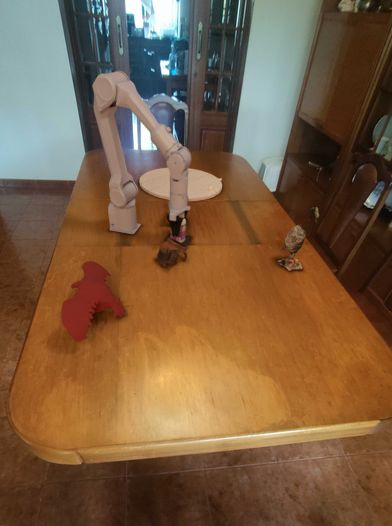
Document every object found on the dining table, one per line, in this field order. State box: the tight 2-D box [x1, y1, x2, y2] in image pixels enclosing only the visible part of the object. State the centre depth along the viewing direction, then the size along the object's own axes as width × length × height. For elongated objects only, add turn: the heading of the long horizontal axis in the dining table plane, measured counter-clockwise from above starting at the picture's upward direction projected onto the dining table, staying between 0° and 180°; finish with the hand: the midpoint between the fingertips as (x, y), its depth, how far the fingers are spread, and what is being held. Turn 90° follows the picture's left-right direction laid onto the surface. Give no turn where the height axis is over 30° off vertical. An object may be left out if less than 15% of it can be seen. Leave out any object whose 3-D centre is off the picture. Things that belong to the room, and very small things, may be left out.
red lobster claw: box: [60, 260, 126, 343], centre depth 81 cm, size 28×9×15 cm
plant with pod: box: [276, 206, 320, 272], centre depth 101 cm, size 8×11×20 cm
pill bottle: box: [169, 212, 187, 242], centre depth 110 cm, size 5×5×10 cm
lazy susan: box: [138, 167, 223, 202], centre depth 150 cm, size 40×39×3 cm
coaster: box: [164, 233, 192, 247], centre depth 114 cm, size 8×8×1 cm
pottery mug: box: [156, 237, 188, 268], centre depth 102 cm, size 12×10×8 cm
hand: (177, 232), depth 112 cm, fingers closed on pill bottle, 5 cm apart
